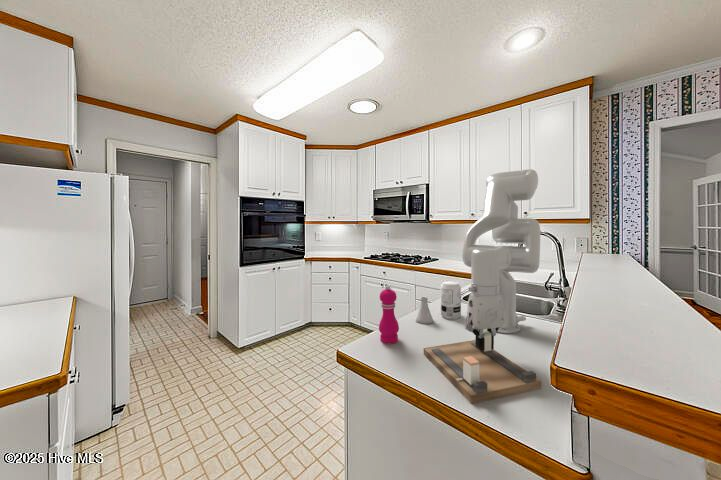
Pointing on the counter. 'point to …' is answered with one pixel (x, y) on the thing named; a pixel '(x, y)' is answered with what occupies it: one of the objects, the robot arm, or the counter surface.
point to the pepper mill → (388, 317)
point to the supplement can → (450, 299)
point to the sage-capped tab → (487, 340)
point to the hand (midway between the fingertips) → (484, 347)
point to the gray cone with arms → (424, 312)
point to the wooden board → (481, 371)
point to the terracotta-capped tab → (470, 369)
